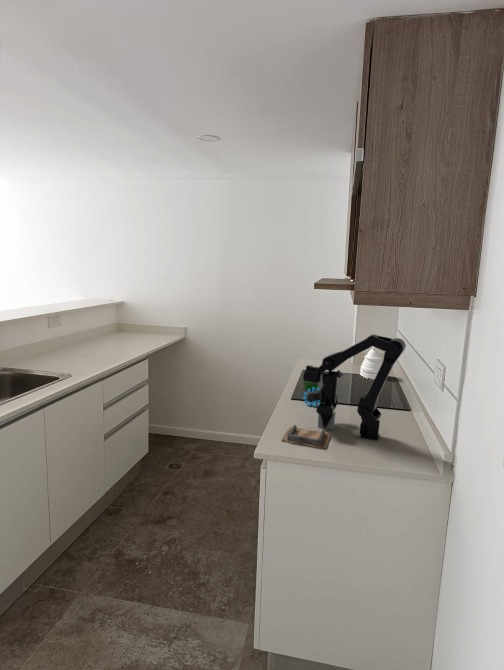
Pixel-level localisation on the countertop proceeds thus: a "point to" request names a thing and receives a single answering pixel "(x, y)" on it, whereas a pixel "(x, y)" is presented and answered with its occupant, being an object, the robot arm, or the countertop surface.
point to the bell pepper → (310, 385)
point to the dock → (307, 437)
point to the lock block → (330, 424)
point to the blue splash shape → (313, 401)
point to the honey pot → (371, 364)
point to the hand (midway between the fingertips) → (326, 423)
